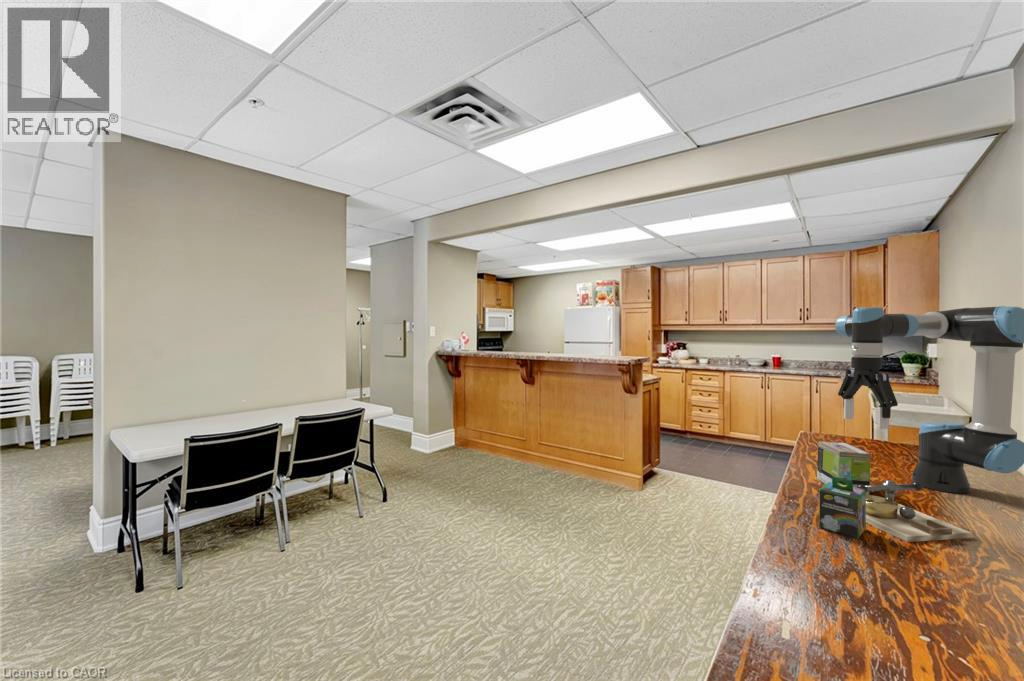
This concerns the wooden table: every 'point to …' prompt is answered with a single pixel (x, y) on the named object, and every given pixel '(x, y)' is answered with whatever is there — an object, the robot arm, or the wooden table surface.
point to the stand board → (917, 527)
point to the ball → (907, 512)
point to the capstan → (886, 498)
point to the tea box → (843, 463)
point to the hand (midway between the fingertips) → (865, 423)
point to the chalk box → (842, 508)
